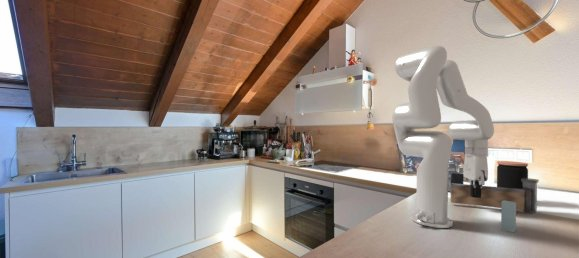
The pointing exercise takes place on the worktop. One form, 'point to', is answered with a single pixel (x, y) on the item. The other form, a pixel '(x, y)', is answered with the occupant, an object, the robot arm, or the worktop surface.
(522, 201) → the gate
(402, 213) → the worktop surface
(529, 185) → the gate post
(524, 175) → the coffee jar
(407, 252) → the worktop surface
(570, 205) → the worktop surface
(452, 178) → the small box
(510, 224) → the block
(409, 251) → the worktop surface
